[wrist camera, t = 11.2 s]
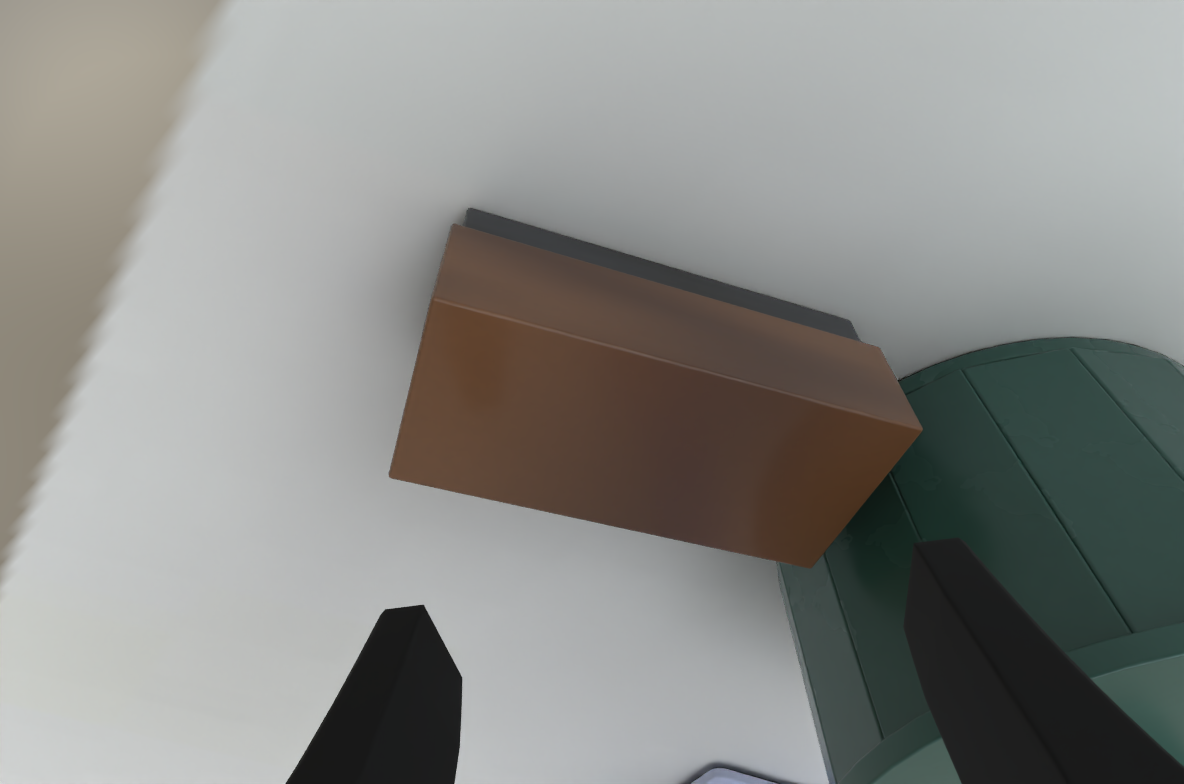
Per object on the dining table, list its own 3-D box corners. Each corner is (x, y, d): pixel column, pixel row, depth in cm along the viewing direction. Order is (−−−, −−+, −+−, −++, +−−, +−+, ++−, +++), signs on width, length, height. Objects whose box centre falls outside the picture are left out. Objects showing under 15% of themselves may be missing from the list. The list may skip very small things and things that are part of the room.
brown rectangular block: (419, 358, 17) (387, 478, 14) (460, 194, 15) (430, 297, 12) (775, 448, 19) (811, 570, 16) (863, 314, 17) (925, 430, 14)
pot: (968, 672, 26) (1083, 933, 20) (688, 562, 22) (728, 845, 16) (1317, 456, 20) (1631, 742, 14) (1014, 251, 16) (1268, 527, 10)
